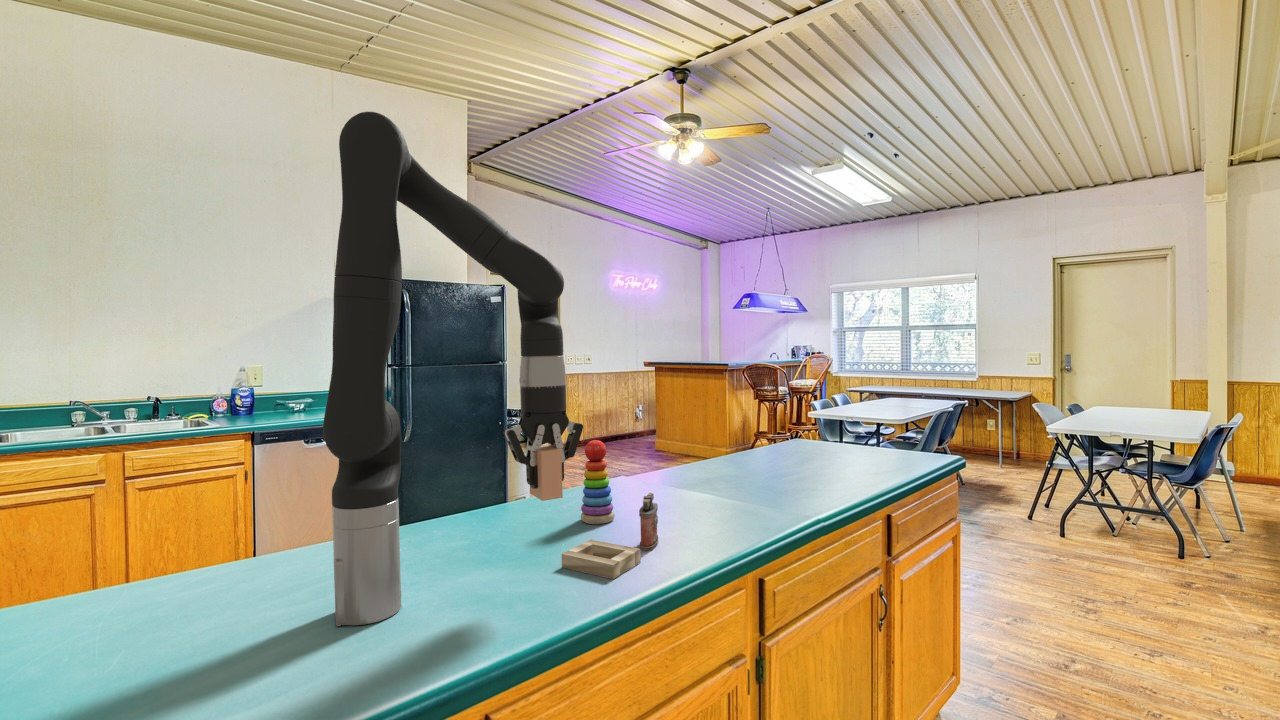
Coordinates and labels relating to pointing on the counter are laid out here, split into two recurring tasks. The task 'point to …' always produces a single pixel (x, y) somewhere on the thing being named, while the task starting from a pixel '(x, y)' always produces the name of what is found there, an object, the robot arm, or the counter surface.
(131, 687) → the counter surface
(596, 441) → the stacking toy
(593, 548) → the frame
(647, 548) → the lighter
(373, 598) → the robot arm
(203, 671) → the counter surface
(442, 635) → the counter surface
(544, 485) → the key block
